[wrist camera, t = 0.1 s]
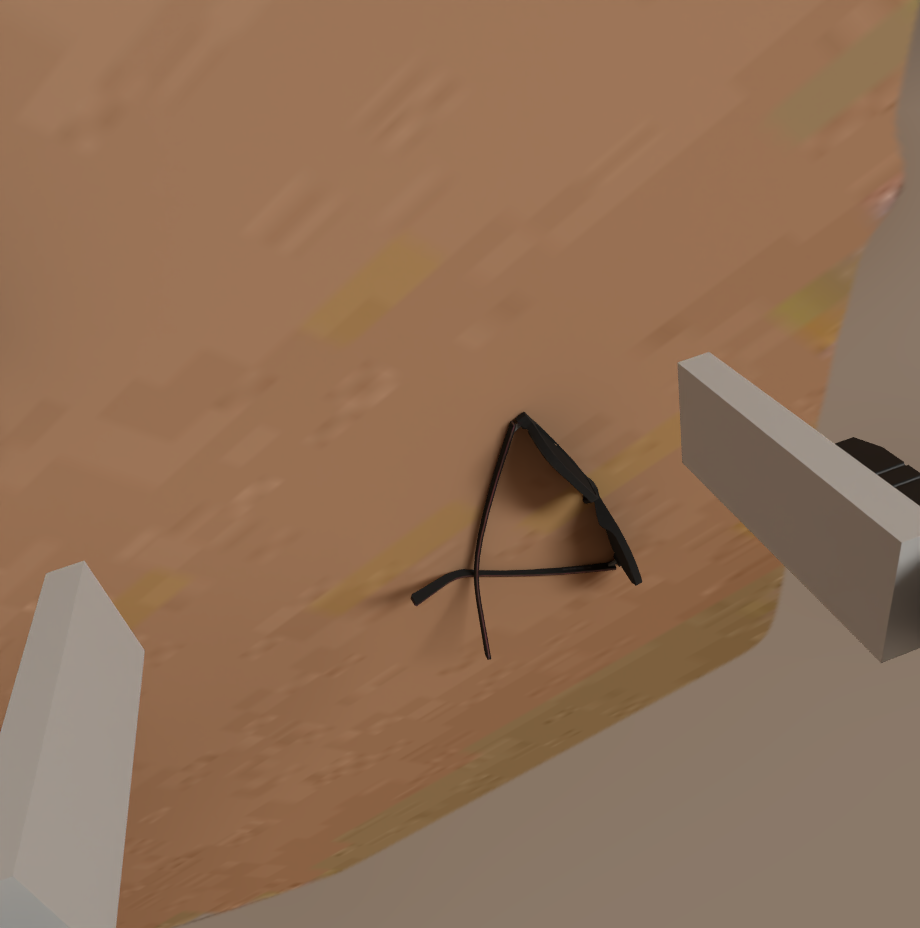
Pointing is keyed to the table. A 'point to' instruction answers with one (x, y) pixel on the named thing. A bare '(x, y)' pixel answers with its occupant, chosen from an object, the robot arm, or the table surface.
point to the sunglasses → (621, 556)
